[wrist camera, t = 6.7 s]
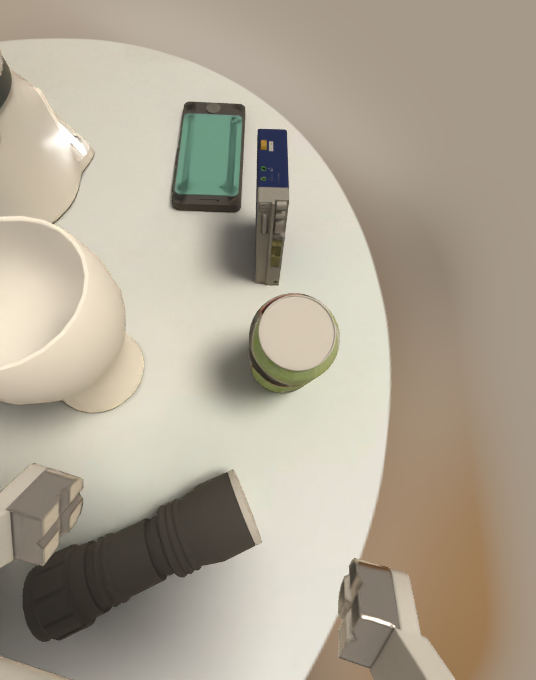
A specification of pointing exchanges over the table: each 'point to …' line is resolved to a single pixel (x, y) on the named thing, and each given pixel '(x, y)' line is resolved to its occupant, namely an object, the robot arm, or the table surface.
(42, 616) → the flashlight
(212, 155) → the smartphone
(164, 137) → the table surface
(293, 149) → the table surface
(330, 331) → the beverage can
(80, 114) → the table surface
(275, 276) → the blue rectangular block
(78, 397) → the cup
